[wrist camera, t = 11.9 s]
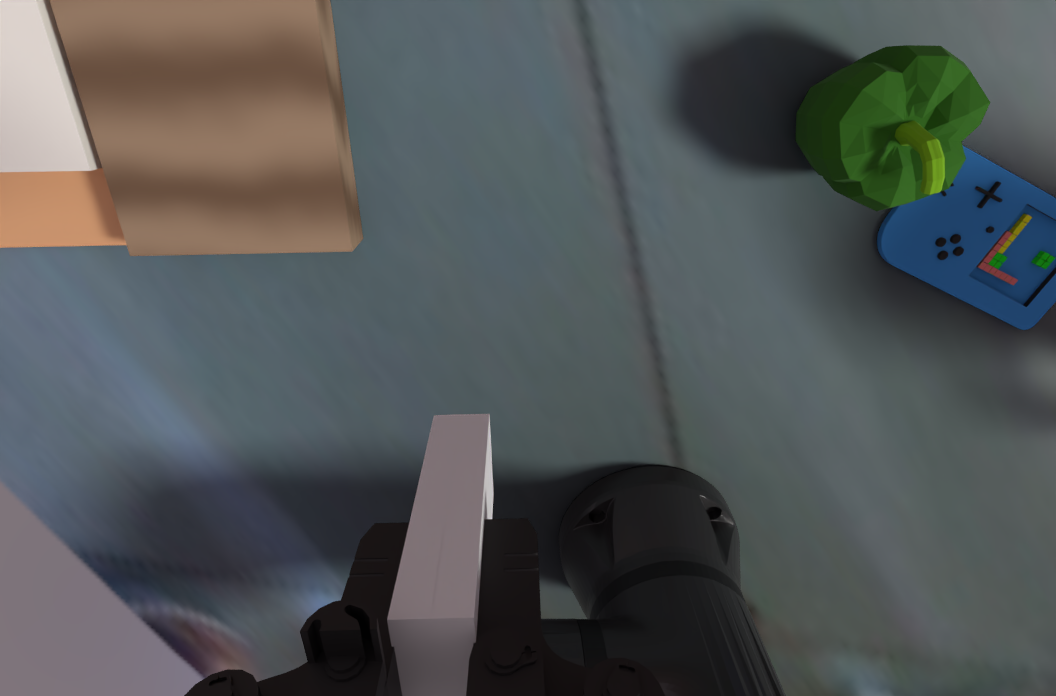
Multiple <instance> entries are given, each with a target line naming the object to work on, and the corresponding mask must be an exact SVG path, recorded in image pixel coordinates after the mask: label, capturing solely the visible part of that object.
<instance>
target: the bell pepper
mask: <svg viewBox="0 0 1056 696" xmlns="http://www.w3.org/2000/svg"><path fill="white" fill-rule="evenodd" d="M989 104H990V101H989V100H988V98H987V97H986V95H985V93H984V92H983V90H982V89H981V87H980V86H979V84H978V82H977V81H976V79H975V78H974V76H973V74H972V73H971V71H970V70H969V69H968V67H967V66H966V65H965V63H964V62H962V61H961V60H959V59H958V58H957V57H955V56H954V55H952V54H951V53H950V52H948V51H947V50H946V49H944V48H943V47H941V46H892V47H885V48H883V49H880V50H878V51H876V52H873V53H871V54H869V55H867V56H865V57H863V58H862V59H860V60H858V61H856V62H854V64H851V65H849V66H847V67H844V68H842V69H840V70H838V71H837V72H835V73H833V74H832V75H830V76H828V77H827V78H825V79H824V80H822V81H820V82H819V83H817V84H816V85H814V86H812V87H811V88H810V89H809V91H808V93H807V94H806V96H805V98H804V100H803V102H802V104H801V106H800V108H799V109H798V111H797V115H796V140H795V141H796V142H797V144H798V145H799V147H800V149H801V150H802V152H803V154H804V155H805V157H806V158H807V160H808V162H809V163H810V165H811V166H812V167H813V168H814V169H815V171H816V172H817V173H818V174H819V175H821V176H823V178H824V179H825V180H826V182H827V183H828V184H829V185H830V186H831V187H832V188H833V190H834V191H836V192H838V193H840V194H842V195H844V196H846V197H848V198H850V199H852V200H854V201H856V202H858V203H860V204H862V205H864V206H867V207H869V208H871V209H873V210H875V211H879V210H884V209H888V208H892V207H896V206H900V205H904V204H907V203H910V202H913V201H916V200H919V199H922V198H924V197H927V196H930V195H933V194H936V193H939V192H941V191H944V190H947V189H949V187H950V186H951V184H952V182H953V181H954V179H955V177H956V175H957V174H958V172H959V170H960V169H961V167H962V165H963V164H964V162H965V160H966V156H965V153H964V149H963V146H962V141H963V140H964V139H965V138H966V137H967V136H968V135H969V134H970V133H971V132H973V131H974V130H975V129H976V128H977V127H978V126H979V125H980V124H981V121H982V119H983V117H984V115H985V113H986V111H987V108H988V106H989Z"/></svg>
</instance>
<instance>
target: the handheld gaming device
mask: <svg viewBox="0 0 1056 696" xmlns="http://www.w3.org/2000/svg"><path fill="white" fill-rule="evenodd" d="M962 146H963V145H962ZM963 149H964V153H965V156H966V160H965V162H964V164H963V165H962V167H961V169H960V170H959V172H958V174H957V175H956V177H955V179H954V181H953V182H952V184H951V186H950V187H949V189H947V190H944V191H941V192H939V193H936V194H933V195H930V196H927V197H924V198H922V199H919V200H916V201H913V202H910V203H907V204H904V205H900V206H896V207H893V208H892V209H891V211H890V212H889V213H888V215H887V216H886V218H885V219H884V221H883V222H882V224H881V227H880V229H879V232H878V237H877V247H878V251H879V253H880V255H881V257H882V258H883V259H884V260H885V261H886V262H887V263H889V264H891V265H893V266H894V267H896V268H898V269H900V270H902V271H904V272H906V273H908V274H910V275H912V276H914V277H916V278H918V279H920V280H922V281H924V282H926V283H928V284H930V285H932V286H934V287H936V288H938V289H940V290H942V291H944V292H946V293H948V294H950V295H952V296H954V297H956V298H958V299H960V300H962V301H964V302H966V303H968V304H970V305H972V306H974V307H976V308H978V309H980V310H982V311H984V312H986V313H988V314H990V315H992V316H994V317H996V318H998V319H1000V320H1002V321H1004V322H1006V323H1008V324H1010V325H1012V326H1014V327H1016V328H1019V329H1021V330H1027V329H1030V328H1032V327H1033V326H1034V325H1035V324H1036V323H1037V322H1038V321H1039V320H1040V319H1041V318H1042V317H1043V315H1044V314H1045V313H1046V312H1047V311H1048V310H1049V309H1050V308H1051V306H1052V305H1053V304H1054V303H1055V302H1056V198H1055V197H1053V196H1051V195H1050V194H1048V193H1046V192H1044V191H1042V190H1041V189H1039V188H1037V187H1035V186H1034V185H1032V184H1030V183H1028V182H1027V181H1025V180H1023V179H1021V178H1020V177H1018V176H1016V175H1014V174H1012V173H1011V172H1009V171H1007V170H1005V169H1004V168H1002V167H1000V166H998V165H997V164H995V163H993V162H991V161H989V160H988V159H986V158H984V157H982V156H981V155H979V154H977V153H975V152H974V151H972V150H970V149H968V148H966V147H965V146H963Z"/></svg>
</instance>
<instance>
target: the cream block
mask: <svg viewBox="0 0 1056 696" xmlns="http://www.w3.org/2000/svg"><path fill="white" fill-rule="evenodd" d="M99 168H102V165H101V162H100V159H99V156H98V152H97V149H96V146H95V143H94V140H93V137H92V133H91V130H90V127H89V124H88V121H87V118H86V114H85V111H84V108H83V105H82V102H81V99H80V95H79V92H78V89H77V86H76V83H75V80H74V76H73V73H72V70H71V67H70V64H69V61H68V57H67V54H66V51H65V48H64V45H63V42H62V38H61V35H60V32H59V29H58V26H57V23H56V19H55V16H54V13H53V10H52V7H51V4H50V0H0V172H48V171H92V170H96V169H99Z"/></svg>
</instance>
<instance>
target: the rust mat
mask: <svg viewBox="0 0 1056 696" xmlns="http://www.w3.org/2000/svg"><path fill="white" fill-rule="evenodd" d="M100 245H127V244H126V241H125V238H124V235H123V232H122V228H121V225H120V222H119V219H118V216H117V213H116V209H115V206H114V203H113V200H112V197H111V194H110V190H109V187H108V184H107V181H106V178H105V175H104V171H103V168H99V169H96V170H92V171H48V172H0V248H1V247H50V246H100Z"/></svg>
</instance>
